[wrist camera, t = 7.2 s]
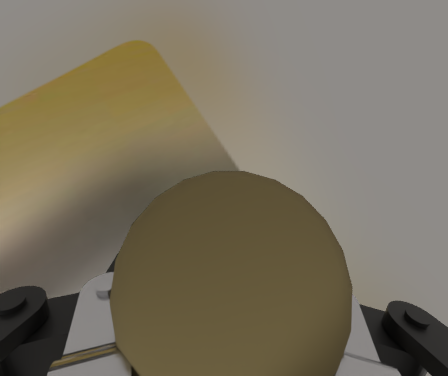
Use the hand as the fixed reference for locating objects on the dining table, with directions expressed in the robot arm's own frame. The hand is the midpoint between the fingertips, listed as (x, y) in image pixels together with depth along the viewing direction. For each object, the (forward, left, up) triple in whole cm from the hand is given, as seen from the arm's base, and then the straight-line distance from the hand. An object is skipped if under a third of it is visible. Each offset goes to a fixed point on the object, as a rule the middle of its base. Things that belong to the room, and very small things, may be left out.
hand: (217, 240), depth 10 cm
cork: (+1, -2, -5) cm, 5 cm away
